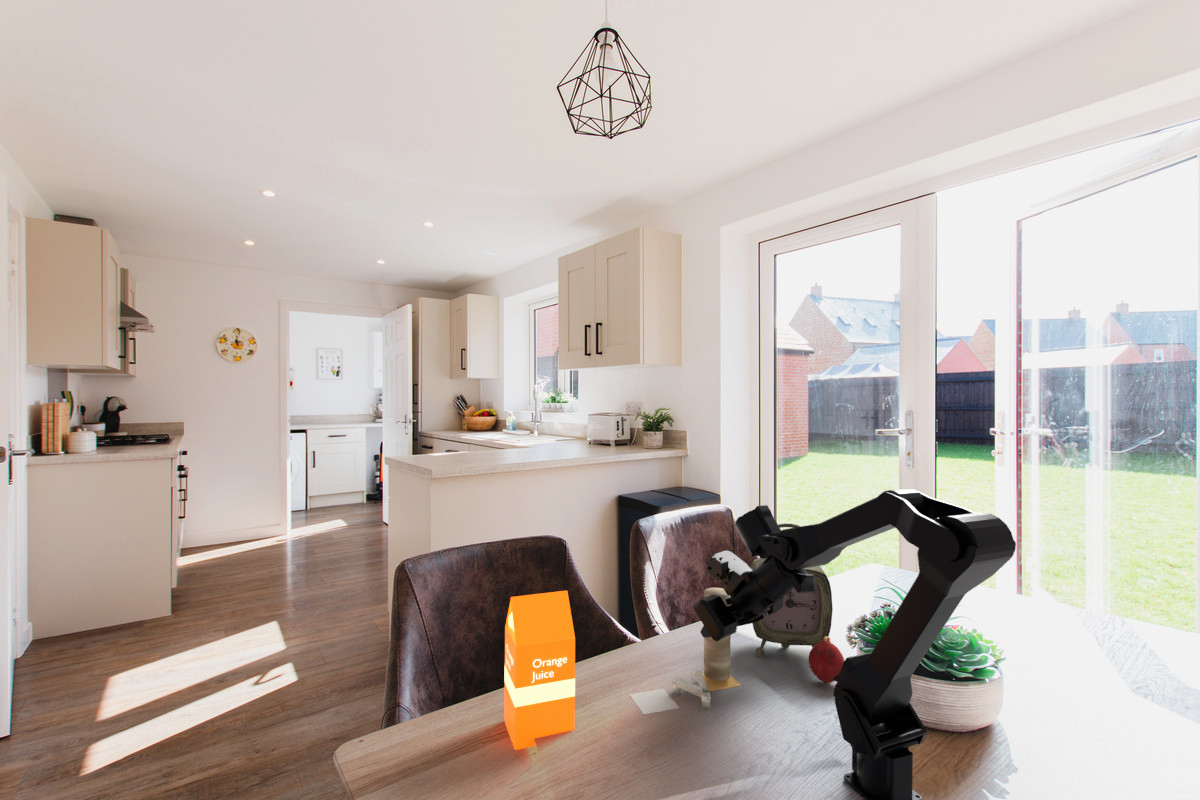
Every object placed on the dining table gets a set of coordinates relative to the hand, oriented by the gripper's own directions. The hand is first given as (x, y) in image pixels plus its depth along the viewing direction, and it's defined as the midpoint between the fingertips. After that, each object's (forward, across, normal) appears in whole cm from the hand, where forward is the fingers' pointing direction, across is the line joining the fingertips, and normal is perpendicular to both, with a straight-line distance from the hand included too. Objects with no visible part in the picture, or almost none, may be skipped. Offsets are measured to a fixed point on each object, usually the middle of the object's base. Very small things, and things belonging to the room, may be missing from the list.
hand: (710, 630), depth 97 cm
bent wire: (+4, +7, +7) cm, 11 cm away
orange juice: (+13, +30, 0) cm, 33 cm away
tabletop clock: (+4, -21, +9) cm, 23 cm away
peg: (+4, 0, +6) cm, 7 cm away
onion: (-3, -15, +16) cm, 22 cm away
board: (+5, +8, +8) cm, 12 cm away
